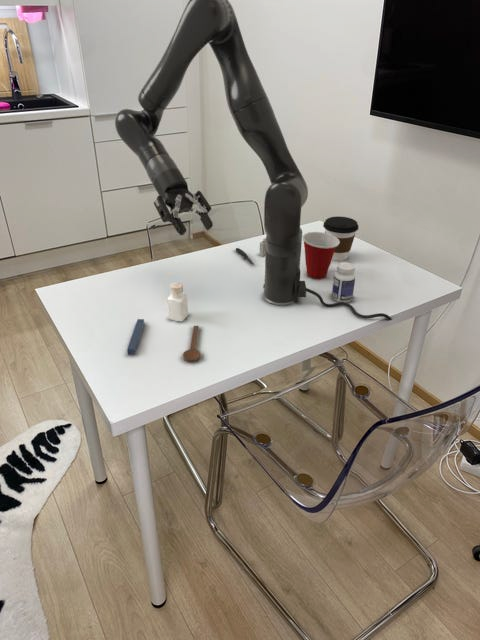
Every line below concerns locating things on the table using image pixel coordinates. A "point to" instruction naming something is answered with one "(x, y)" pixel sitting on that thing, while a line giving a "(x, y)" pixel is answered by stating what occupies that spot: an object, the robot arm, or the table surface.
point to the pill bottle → (343, 282)
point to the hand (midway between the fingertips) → (197, 230)
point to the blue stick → (135, 337)
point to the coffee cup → (341, 234)
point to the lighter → (263, 247)
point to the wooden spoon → (193, 348)
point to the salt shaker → (177, 302)
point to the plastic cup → (319, 253)
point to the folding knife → (244, 255)
